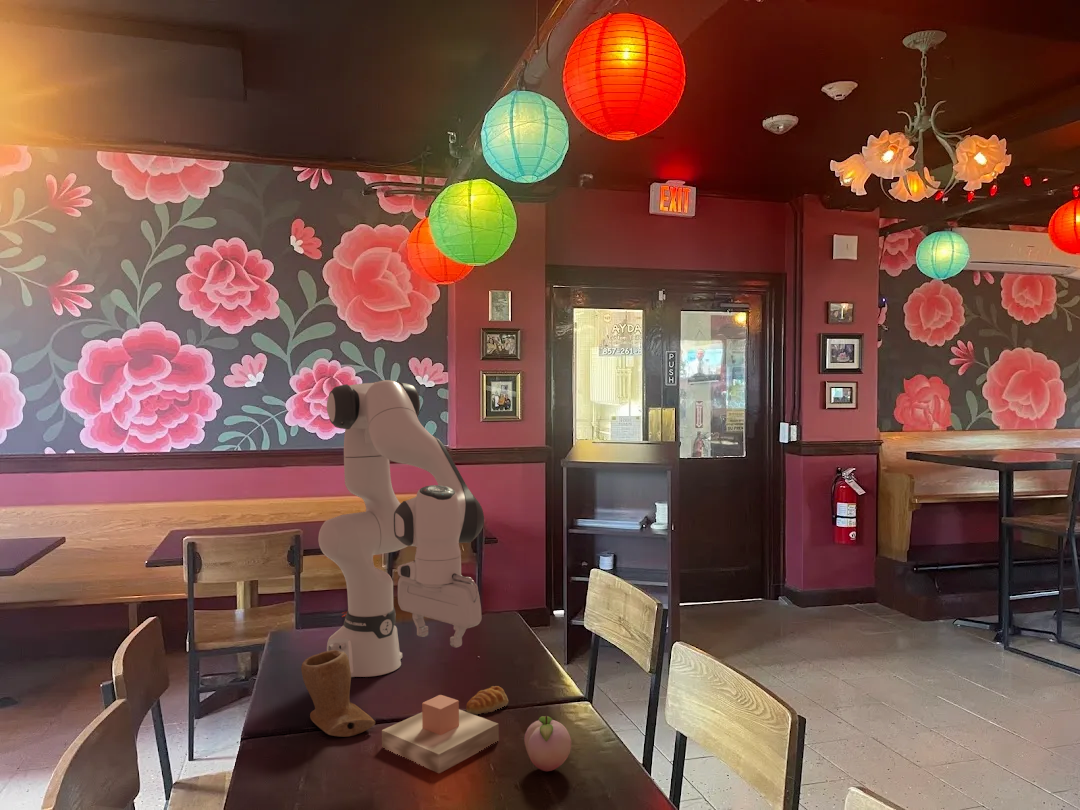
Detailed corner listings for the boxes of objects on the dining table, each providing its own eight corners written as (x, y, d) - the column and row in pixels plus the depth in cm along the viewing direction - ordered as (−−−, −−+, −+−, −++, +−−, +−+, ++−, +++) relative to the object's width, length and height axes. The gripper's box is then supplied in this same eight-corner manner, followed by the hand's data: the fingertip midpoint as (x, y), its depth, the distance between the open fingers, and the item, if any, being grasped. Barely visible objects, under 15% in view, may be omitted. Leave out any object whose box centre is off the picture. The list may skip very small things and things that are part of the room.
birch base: (382, 750, 149) (381, 730, 149) (442, 721, 162) (442, 703, 161) (439, 776, 139) (438, 754, 139) (498, 743, 151) (498, 723, 151)
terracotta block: (422, 728, 150) (422, 702, 149) (440, 719, 154) (440, 694, 153) (440, 735, 147) (440, 709, 146) (459, 725, 150) (458, 700, 150)
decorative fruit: (577, 780, 136) (576, 725, 136) (531, 786, 134) (531, 729, 134) (564, 755, 145) (563, 703, 145) (521, 760, 143) (521, 707, 143)
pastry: (479, 720, 161) (479, 702, 161) (458, 711, 166) (457, 694, 166) (511, 705, 168) (510, 688, 168) (489, 698, 173) (489, 681, 173)
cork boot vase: (295, 721, 162) (293, 650, 161) (350, 707, 168) (348, 639, 168) (318, 748, 149) (317, 672, 149) (376, 732, 156) (375, 659, 155)
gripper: (488, 575, 145) (489, 648, 146) (415, 559, 158) (416, 626, 159) (464, 582, 140) (465, 657, 141) (391, 565, 153) (392, 634, 154)
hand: (439, 640), depth 150 cm, fingers open, 8 cm apart
